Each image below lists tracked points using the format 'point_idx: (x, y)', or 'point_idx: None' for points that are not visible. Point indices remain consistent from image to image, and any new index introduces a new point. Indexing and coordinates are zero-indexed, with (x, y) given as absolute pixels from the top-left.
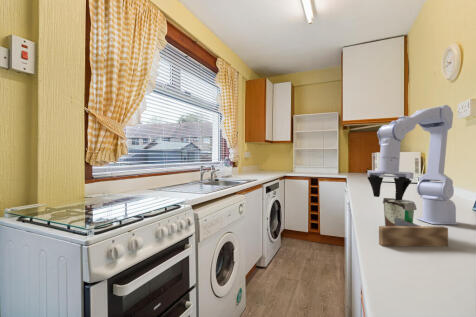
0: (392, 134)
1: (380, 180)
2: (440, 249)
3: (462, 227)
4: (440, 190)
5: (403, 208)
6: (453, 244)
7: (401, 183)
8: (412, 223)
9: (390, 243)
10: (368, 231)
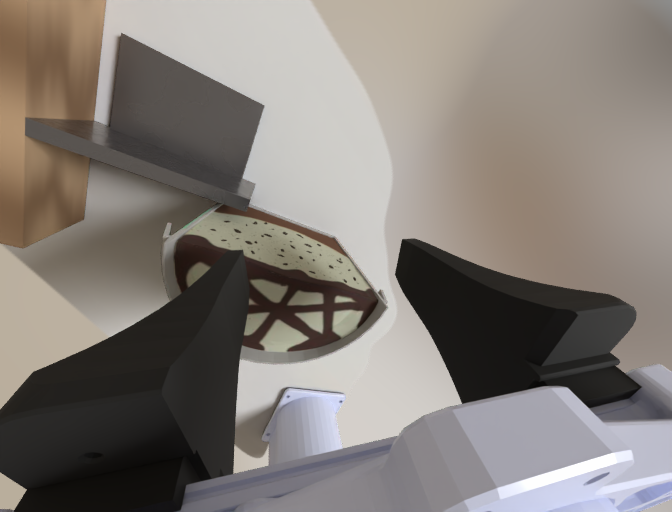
0: None
1: (472, 389)
2: None
3: (240, 427)
4: None
5: (200, 238)
6: (81, 255)
7: (91, 352)
8: (104, 156)
9: None
10: (313, 90)
